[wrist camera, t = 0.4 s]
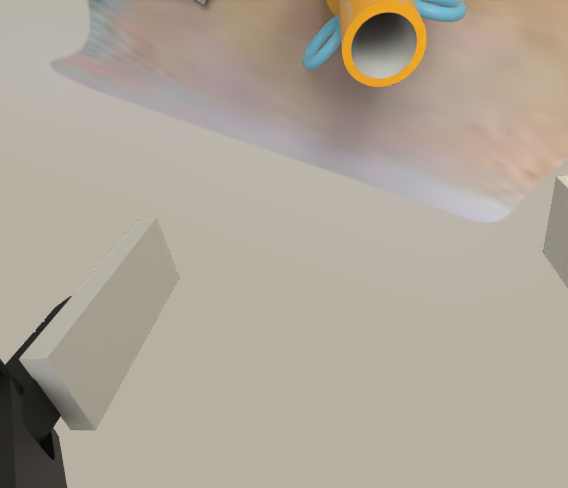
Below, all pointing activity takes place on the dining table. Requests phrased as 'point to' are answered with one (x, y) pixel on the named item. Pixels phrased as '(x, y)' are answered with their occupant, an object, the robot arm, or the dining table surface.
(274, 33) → the dining table surface
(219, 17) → the dining table surface
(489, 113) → the dining table surface
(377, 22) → the cylinder
